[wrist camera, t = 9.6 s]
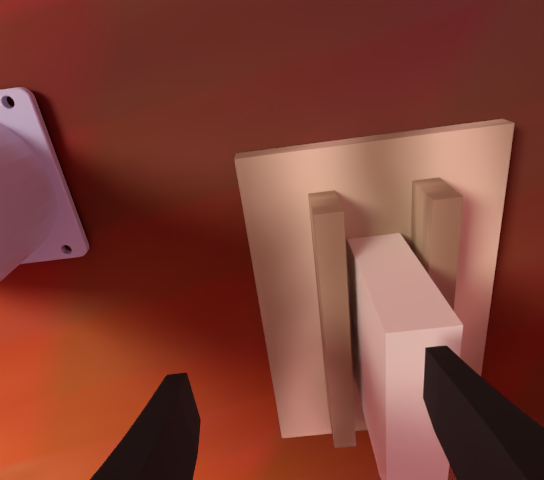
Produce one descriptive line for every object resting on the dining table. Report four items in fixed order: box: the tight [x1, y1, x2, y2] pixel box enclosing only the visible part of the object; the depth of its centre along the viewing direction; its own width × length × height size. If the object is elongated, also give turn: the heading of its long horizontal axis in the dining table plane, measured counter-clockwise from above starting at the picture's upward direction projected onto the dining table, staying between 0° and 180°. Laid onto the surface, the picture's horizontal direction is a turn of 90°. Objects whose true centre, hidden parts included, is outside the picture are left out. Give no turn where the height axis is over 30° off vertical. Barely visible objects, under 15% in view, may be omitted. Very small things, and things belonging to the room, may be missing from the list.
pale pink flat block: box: [347, 233, 463, 480], centre depth 18 cm, size 3×9×7 cm, turn 7°
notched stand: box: [234, 119, 515, 448], centre depth 21 cm, size 12×18×4 cm, turn 7°
